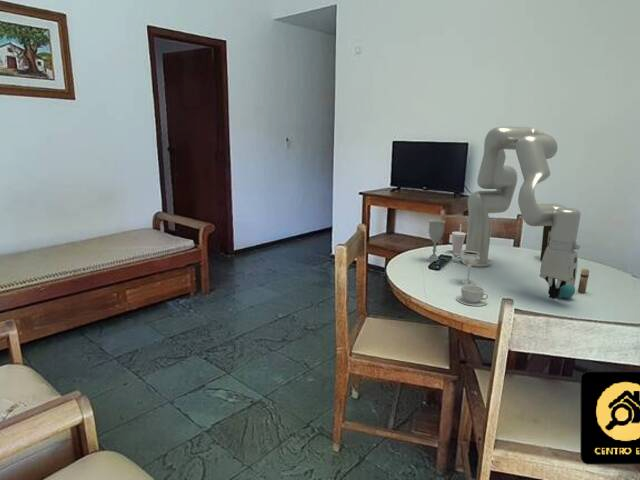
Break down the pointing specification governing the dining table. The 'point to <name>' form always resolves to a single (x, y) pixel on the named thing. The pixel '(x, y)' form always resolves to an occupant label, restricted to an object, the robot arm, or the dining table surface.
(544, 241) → the olive oil
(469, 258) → the wineglass
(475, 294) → the teacup
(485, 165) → the robot arm
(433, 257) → the chalice
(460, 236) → the smoothie
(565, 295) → the ball
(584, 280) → the back right pin
